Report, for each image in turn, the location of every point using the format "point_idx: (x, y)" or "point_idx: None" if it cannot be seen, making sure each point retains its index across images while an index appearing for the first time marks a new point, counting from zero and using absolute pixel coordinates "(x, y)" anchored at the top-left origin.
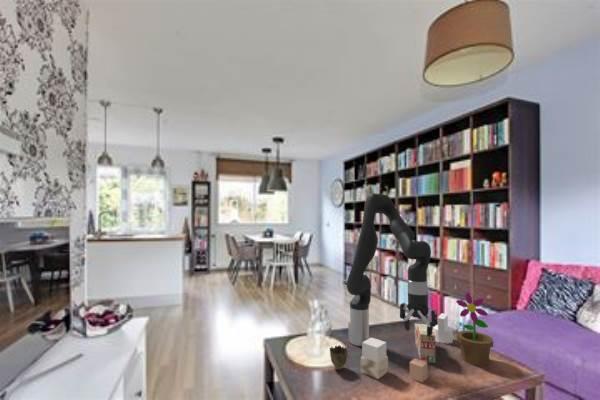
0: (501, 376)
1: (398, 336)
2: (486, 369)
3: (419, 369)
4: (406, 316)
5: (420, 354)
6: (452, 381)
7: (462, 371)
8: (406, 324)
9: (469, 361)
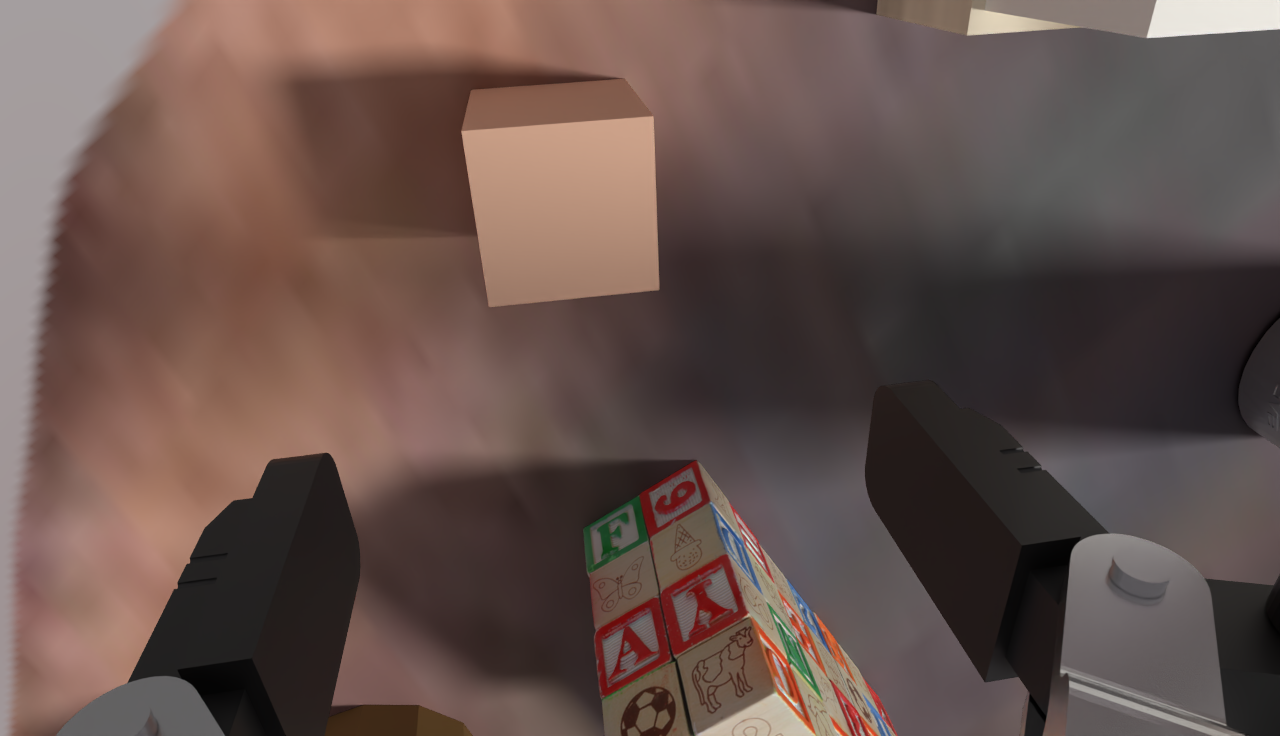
0: None
1: None
2: None
3: (501, 116)
4: (1201, 702)
5: (715, 508)
6: (285, 356)
7: None
8: (995, 475)
9: (377, 722)
